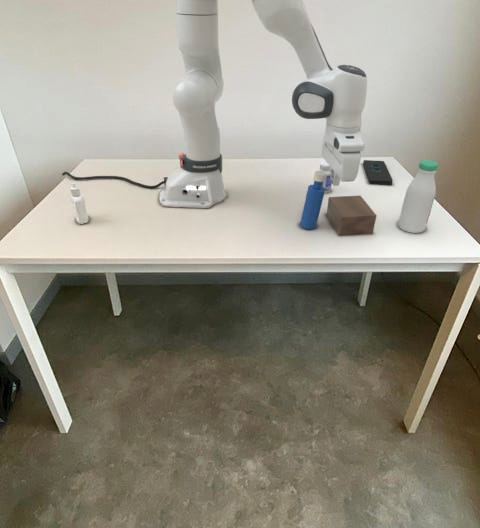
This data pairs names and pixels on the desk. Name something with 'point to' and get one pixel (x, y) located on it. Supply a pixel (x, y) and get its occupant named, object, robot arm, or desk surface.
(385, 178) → the smart home device
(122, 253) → the desk surface
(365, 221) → the wooden box
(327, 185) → the pill bottle
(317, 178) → the bottle
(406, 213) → the milk bottle
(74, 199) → the eye dropper bottle
